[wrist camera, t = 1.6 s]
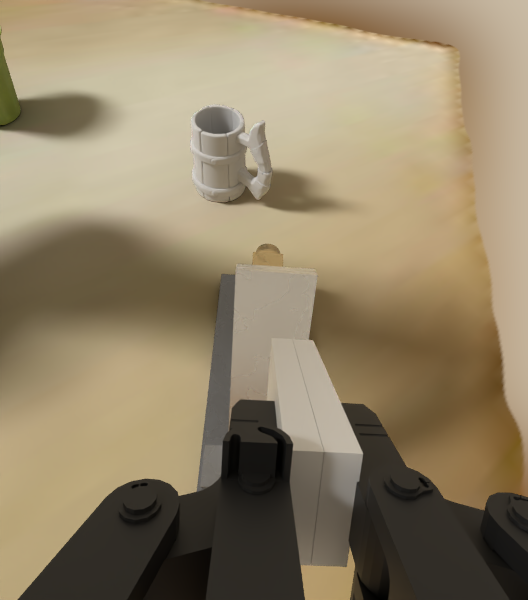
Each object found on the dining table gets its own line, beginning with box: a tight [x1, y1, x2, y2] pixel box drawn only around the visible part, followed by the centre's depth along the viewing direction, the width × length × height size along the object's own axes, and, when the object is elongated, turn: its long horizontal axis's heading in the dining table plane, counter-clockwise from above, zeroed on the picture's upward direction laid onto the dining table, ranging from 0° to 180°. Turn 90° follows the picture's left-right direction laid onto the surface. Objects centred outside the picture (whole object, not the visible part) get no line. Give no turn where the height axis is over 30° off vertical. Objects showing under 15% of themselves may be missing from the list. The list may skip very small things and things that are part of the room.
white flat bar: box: [229, 264, 318, 426], centre depth 27 cm, size 18×5×2 cm
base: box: [197, 244, 283, 492], centre depth 35 cm, size 24×10×7 cm, turn 178°
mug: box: [190, 105, 272, 202], centre depth 47 cm, size 8×12×12 cm, turn 57°
